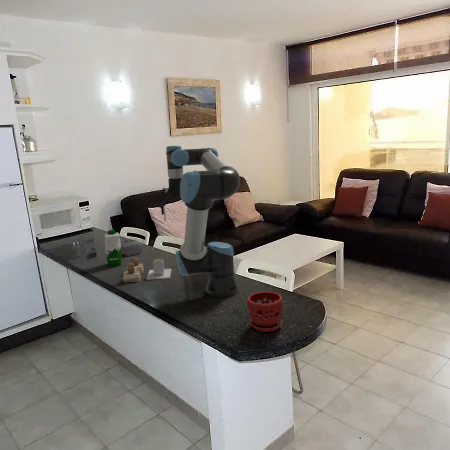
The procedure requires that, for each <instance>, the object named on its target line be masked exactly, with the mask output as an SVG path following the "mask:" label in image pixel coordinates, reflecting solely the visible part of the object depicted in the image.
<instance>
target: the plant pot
mask: <svg viewBox="0 0 450 450" xmlns="http://www.w3.org/2000/svg"><path fill="white" fill-rule="evenodd" d="M247 297H248V298H247V309H248V315H249V316H250V319H251V321H250V325H251V327H252V328H254V329H255V330H257V331H258V330H259V332H266V333H267V332H269V333H270V332H273V331H276V330H279V328H280V327H281V325H282V323H283V322H282V320H281V317H282V313H283V297H282V294H280V293H277V292H273V291H258V292H254V293H252V294H250V295H249V296H247ZM264 299H266V300H264ZM258 301H260V302H261V303H258ZM270 301H271V302H270Z"/></svg>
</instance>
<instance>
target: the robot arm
mask: <svg viewBox="0 0 450 450" xmlns="http://www.w3.org/2000/svg"><path fill="white" fill-rule="evenodd" d="M165 149H166V151H165V155H166V166H167V177H168V180H167V181H168V187H167V188H166V187H163V188H162V193H161V196H160V198H159V201H158V203H157V208H160V211H161V215H162V216H163V219H164V222H167V214H166V205H167V204H168V202H169V200H171V198H172V197H180V200H181V201H182V203H184V206H186V216H185V217H186V218H185V231H184V239H183V240H184V241H183V244H181V245H180V248H179V249H180V250H176V251H175V259H176V264H177V270H178V272H179V274H180V276H183V277H185V276H186V277H189V276H195V275H201V274H202V275H203V274H208V275H209V276H208V280H207V283H206V287H205V288H206V289H205V290H206V292H205V293H206V294H207V295H208V296H211V297H215V298H228V297H232V296H234V295H236V294H237V293H239V283H238V282H237V279H236V276H235V260H234V256H235V253H234V247H233V246H232V245H231V244H230V243H226V242H222V241H221V242H220V241H210V242H208V244H207V246H205V241H206V231H207V223H208V217H209V210H210V209H211V208H212V207H213V206H214V201H218V200H225V199H226V200H227V199H228V198H230V197H231V198H232V197H233V196H234V195H235V194H236V193H237V191H238V190H239V188H240V186H241V177H240V174H239V172H238V171H237V170H236V169H235V168H234V167H232V166H231V165H227V164H226V163H225V162H224V161H222V160H221V159H220V157H219V154H218V151H217V149H216V148H213V147H204V148H203V147H202V148H187V149H185V148H184V149H182V146H181V145H169V146H166V148H165ZM200 165H201V166H203V168H205V170H199V171H198V170H193V171H187V172H185V173H184V166H185V167H186V166H200ZM167 192H169V193H170V194H168V196H167V197H166V199H165V200H164V196H165V195H166V193H167ZM163 200H164V201H163ZM162 202H163V203H162ZM161 203H162V204H161Z"/></svg>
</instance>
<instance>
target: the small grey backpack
mask: <svg viewBox="0 0 450 450" xmlns="http://www.w3.org/2000/svg"><path fill="white" fill-rule="evenodd" d="M120 243H121V254H122V256H126V257H130V256H136V255H140V254H141V253H142V252H143V245H142V243H141V242H139V241H138V240H136V239H133V238H131V239H123V240H120Z"/></svg>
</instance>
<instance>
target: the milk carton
mask: <svg viewBox="0 0 450 450" xmlns="http://www.w3.org/2000/svg"><path fill="white" fill-rule="evenodd" d="M103 239H104V248H105V257H106V262H107V266H108V267H117V266H118V267H119V266H122V256H123V255H122V254H121V243H120V241H121V237H120V233H119V232H116V230H115V229H109V230H107V233H104V238H103Z"/></svg>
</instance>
